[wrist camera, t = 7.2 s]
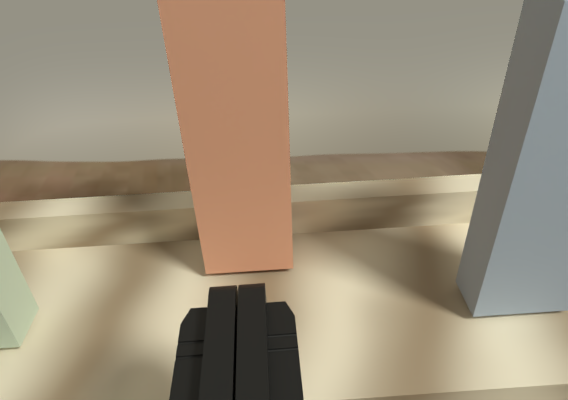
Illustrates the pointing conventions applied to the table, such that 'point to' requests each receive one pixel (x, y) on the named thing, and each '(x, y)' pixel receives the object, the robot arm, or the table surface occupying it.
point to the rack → (274, 297)
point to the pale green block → (13, 300)
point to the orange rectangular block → (234, 127)
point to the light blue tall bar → (524, 179)
